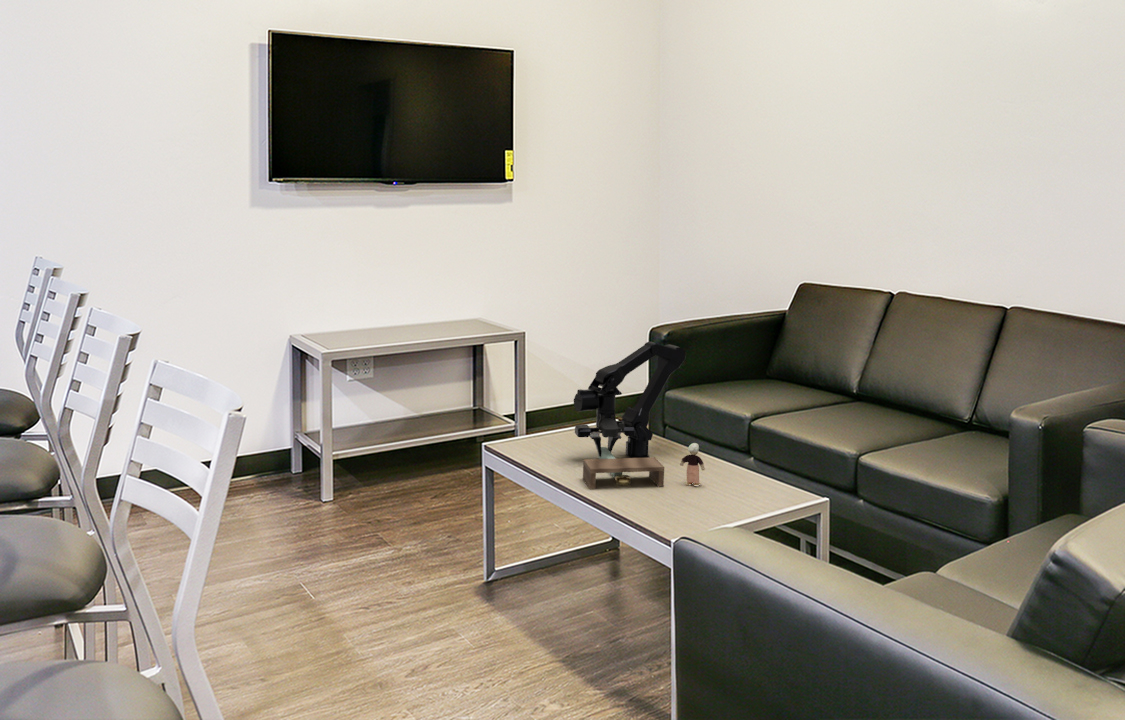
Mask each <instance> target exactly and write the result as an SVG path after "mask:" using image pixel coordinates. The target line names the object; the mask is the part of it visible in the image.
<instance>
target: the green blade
mask: <svg viewBox="0 0 1125 720" xmlns="http://www.w3.org/2000/svg"><path fill="white" fill-rule="evenodd" d="M607 448H608V447H606V446H601V457H599V454H598V453H597V454H598V456H597V459H617V458H616V457H615V456H614V454H613V453H612V451H611V452H610V451H609V450H608V449H607ZM610 475H611V476H612V477H613V478H614V479H615V476H617V475H623V472H616V473H610Z"/></svg>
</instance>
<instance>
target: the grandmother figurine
mask: <svg viewBox="0 0 1125 720" xmlns="http://www.w3.org/2000/svg"><path fill="white" fill-rule="evenodd" d="M699 449H700V447H699V444H698V443H696V442H693V443H691V444H690V445H689V446H688V448H687V451H688V452H689V454H686V455H685V456H683V458H682V459H681V461H680V463H679V465H680V466H681V467H683V466H684V464H685V463H687V467H686V483H687V484H692V483H693V485H699V484H701V485H702V483H701V482H700V469H701V471H705V470H706V468H705V465H704V462H703V460H702V458H701V456H698V453H699ZM699 466H700V467H699Z"/></svg>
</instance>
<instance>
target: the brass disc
mask: <svg viewBox="0 0 1125 720" xmlns="http://www.w3.org/2000/svg"><path fill="white" fill-rule="evenodd" d="M614 480H615V481H614V482H615V485H618V486H629V485H630V484H631V476H630V475H627V474H622V475H617V476H615V478H614ZM628 484H629V485H628Z"/></svg>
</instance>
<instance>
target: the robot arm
mask: <svg viewBox="0 0 1125 720" xmlns="http://www.w3.org/2000/svg"><path fill="white" fill-rule="evenodd" d="M655 356H657V364H656V365H657V366H656V369H655V371H654V373H653V374H652V376H651V378H650V380H649V382H647V385H646V387H645V389H644V390H643V392H642V394H641V395H640V398H639V399H638V401H637V403H636V404H635V405H634V406H633V407H632V408H631V407H629V406H627V408H626V409H625V411H624V414H623V415H622V416H621V417H620V418H621V420H617V418H616V396H621V395H622V394H623V393H622V392H621V391H620V390H619V388H618V386H619V385H621V383H623V381H624V380H625V377H627V375H628V374H630V373H631V372H633V371H635V370H636V369H637V368H638V367H641V366H642V365H644V363H646V362H647V361H649V360H650V359H652V358H653V357H655ZM686 357H687V355H686V352H685V350H684V348H683V347H679V346H677V345H674V344H669V343H668V344H665V345H661V344H659V343H656V342H653V341H647V342H645V343H644V344H643V345H642V346H641V347H639V348H638V349H636V350H635V351H633V352H632V353H631V354H629V355H627V356H626V357H625V358H623V359H621V360H620V361H618V362H617V363H614V364H613V363H612V364H610V365H606V366H605V367H602V368H600V369H598V370H597V371H596V373H595V377H594V378H593V380H592V381H591V383H590V384H589V386H588V388H587V389H581V388H580V389H577V393H576V394H574V398H573V406H574V409H575V410H576V412H578V413H579V412H588V411H589V412H590V411H596V422H595V426H596V427H590V426H589V424H576V425H575V426H574V433H575V435H576V437H577V438H588V437H590V439H591V440H593V442H594V444H595V448H596V450H597V454H599V457H601V447H602V443H601V442H602V437H603V438H606V439H607V438H608V439H607V447H606V448H607V449H608V450H609V451H610V452H611V453H612V451H613V449H614V446H615V444H616V442H617V441H618V440H620V439H621V438H622V436H621V434H624V435H625V437H627V441H625V454H626V455H627V458H651V456H650V455H649V443H650V441H651V440H652V439H653V435H654V433H653V432H652V431H651V430H650V429H649V428H648V425H649V424H650V423H649V422H650V412H651V410H652V408H653V406H654V405H655V403H656V401H657V400H658V398H659V396H660V394H661V392H662V391H663V388H664V387H665V385H666V383H667V382H668V379H669V378H670V376H671V374H673V373H674V372H676V371H677V370H678V369H680V367H681V366H682V364H683V363H684V362H685V360H686ZM600 434H601V435H600ZM601 436H602V437H601Z"/></svg>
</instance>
